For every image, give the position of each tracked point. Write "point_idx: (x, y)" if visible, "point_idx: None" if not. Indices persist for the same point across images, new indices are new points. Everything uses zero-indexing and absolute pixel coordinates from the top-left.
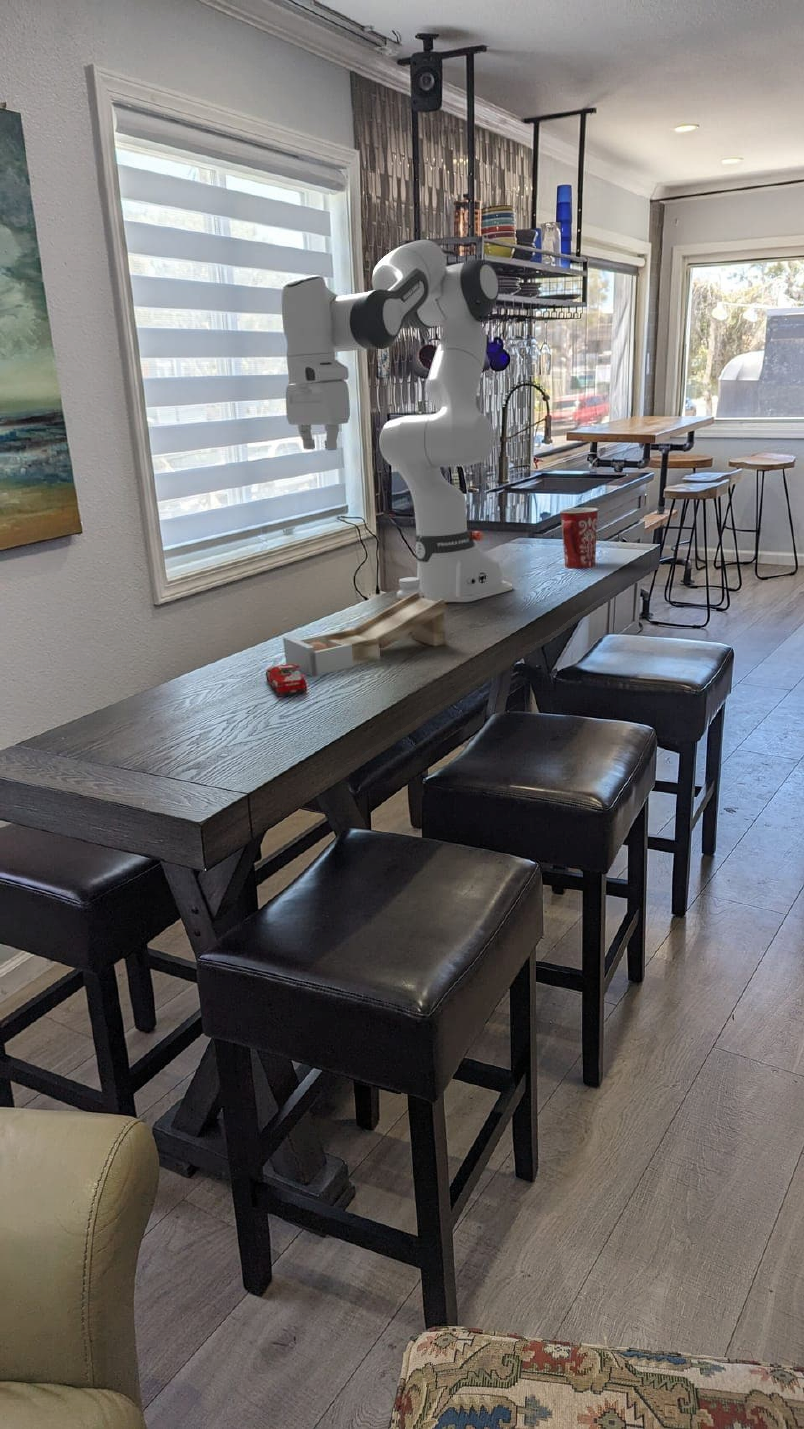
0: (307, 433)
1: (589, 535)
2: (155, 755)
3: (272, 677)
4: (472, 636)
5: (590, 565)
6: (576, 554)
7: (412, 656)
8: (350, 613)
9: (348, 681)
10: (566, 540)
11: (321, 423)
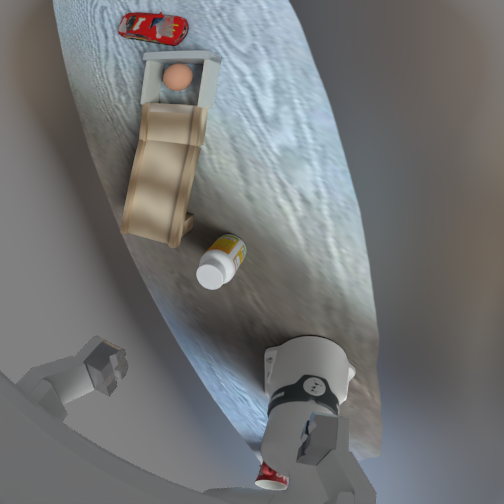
0: (333, 487)
1: (261, 466)
2: None
3: (148, 13)
4: (155, 251)
5: None
6: None
7: None
8: (362, 265)
9: (125, 78)
10: None
11: (23, 397)
